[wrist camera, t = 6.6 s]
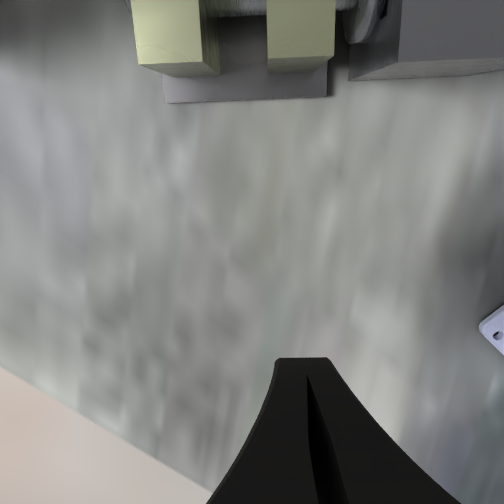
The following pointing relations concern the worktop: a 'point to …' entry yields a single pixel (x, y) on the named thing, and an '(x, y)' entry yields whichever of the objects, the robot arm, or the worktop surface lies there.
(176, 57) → the shaft rig
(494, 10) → the grey housing block
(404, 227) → the worktop surface
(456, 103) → the worktop surface
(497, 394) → the worktop surface
